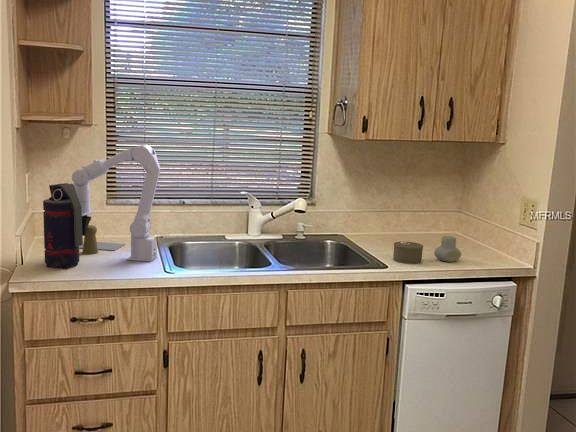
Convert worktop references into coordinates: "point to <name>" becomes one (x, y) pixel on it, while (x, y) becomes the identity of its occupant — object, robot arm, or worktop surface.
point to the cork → (90, 241)
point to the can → (408, 252)
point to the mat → (107, 246)
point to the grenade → (62, 226)
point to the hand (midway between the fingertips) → (82, 235)
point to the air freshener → (447, 250)
